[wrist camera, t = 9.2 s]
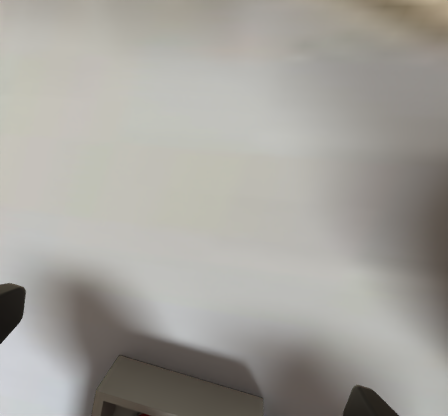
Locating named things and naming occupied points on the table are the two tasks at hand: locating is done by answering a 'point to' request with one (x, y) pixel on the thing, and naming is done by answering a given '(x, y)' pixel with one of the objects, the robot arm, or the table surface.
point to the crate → (166, 394)
